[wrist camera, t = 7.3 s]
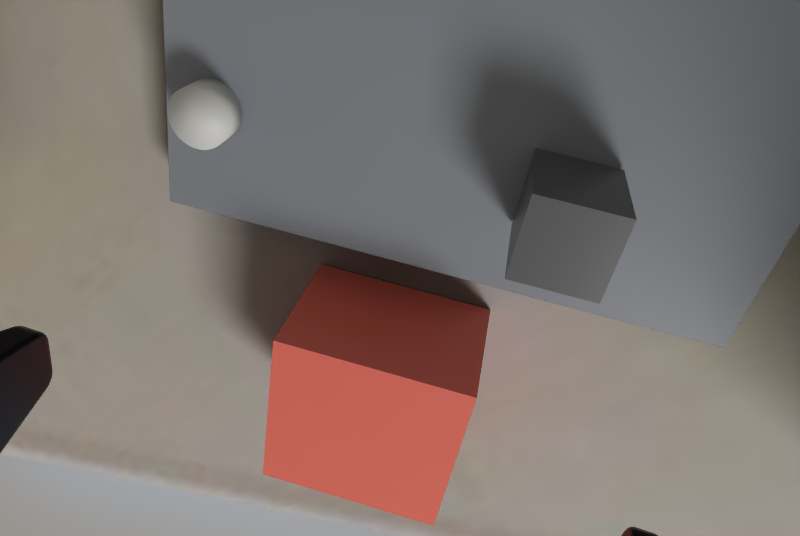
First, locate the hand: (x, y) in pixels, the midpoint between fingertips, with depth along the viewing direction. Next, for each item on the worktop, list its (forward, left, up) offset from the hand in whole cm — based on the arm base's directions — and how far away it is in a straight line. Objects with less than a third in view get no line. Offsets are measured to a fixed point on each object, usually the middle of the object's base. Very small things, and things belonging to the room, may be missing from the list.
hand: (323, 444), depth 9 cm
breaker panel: (-1, -4, -12) cm, 12 cm away
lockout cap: (0, +8, -12) cm, 14 cm away
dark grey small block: (-4, 0, -10) cm, 11 cm away
